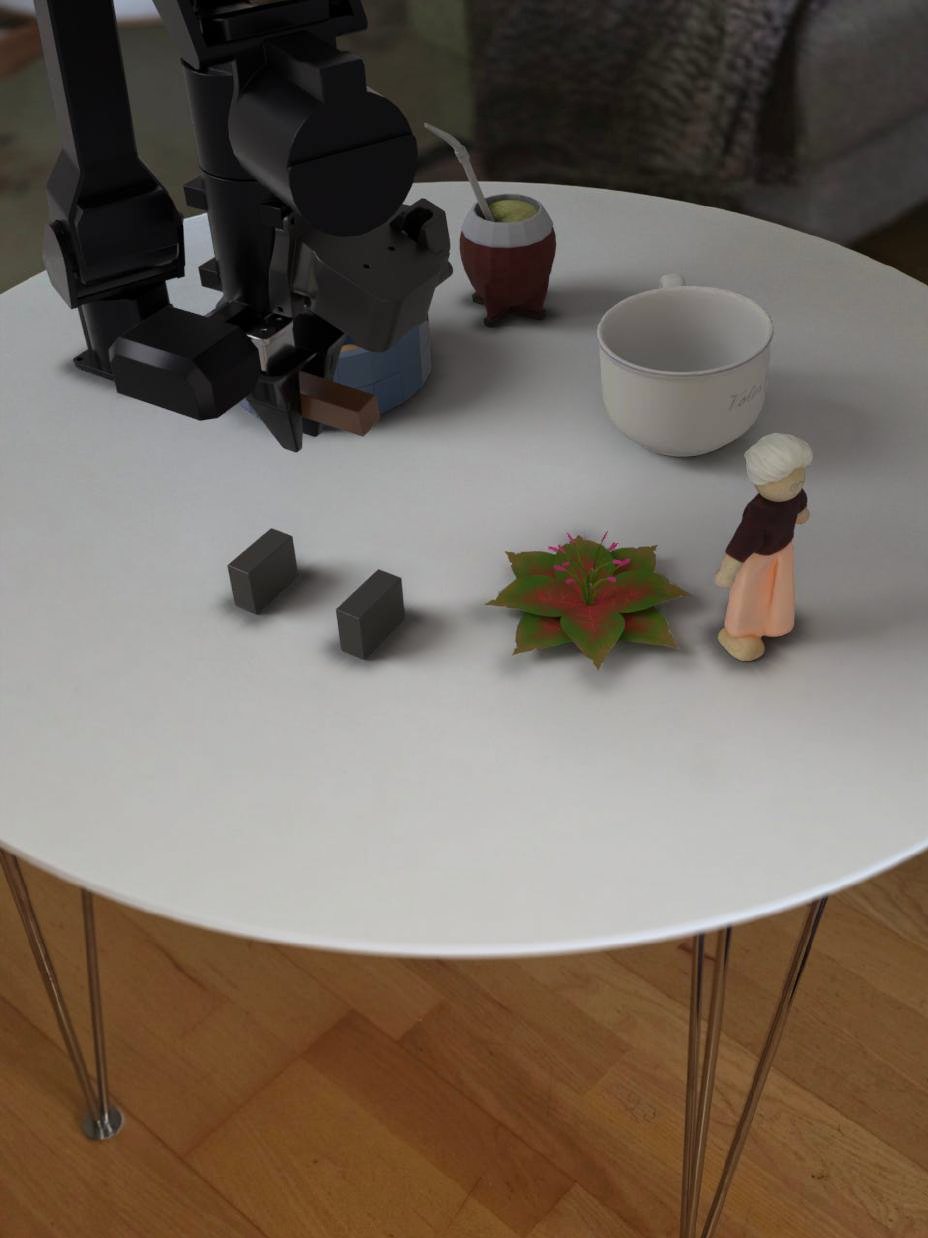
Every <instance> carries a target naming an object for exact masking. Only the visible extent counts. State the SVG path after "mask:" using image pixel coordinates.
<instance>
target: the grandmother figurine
mask: <svg viewBox="0 0 928 1238" xmlns="http://www.w3.org/2000/svg"><path fill="white" fill-rule="evenodd" d="M813 458H814V456H813V450H812V448H811V446H810V445H809V444H808V442H806V441H805V440H802V439H801V438H799V437H796V436H795V435H793V434H790V433H781V432H780V433H779V432H772V433H770V434H765V435H763V436H762V437H761V438H760V439H758V440H757V442H755V444H753V445H751V446H750V448H749V449H747V450H746V451H745V452H744V459H745V462H746V463H745V467H746V472H747V478H748V479H749V480H750V481H751V483H753V486H754V488H755V490H756V491H757V492H758V493H757V494H756V495H755V496H754V497H753V498H752V499H751V500H750V501H749V502H748V503H747V504H746V506H745V507H744V509H743V512H742V515H741V521H740V523H739V524H738V526H737V528H736V530H735V532H734V533H733V534H732V537H731V539H730V540H729V543H728V544H727V545H726V548H725V551H724V554H723V557H722V560H721V562H720V569H718V570H717V572H716V573H715V575H714V584H715V585H716V586H717V587H718V588H720V589H724V590H725V589H730V592H729V596H728V603H727V607H726V613H725V618H724V622H723V623H724V627H723V628H722V629H721V630H720V631H719V632H718V633H717V640H718V642H719V643H720V645H721V646H722V647H723V648H724V649H725V650H726V651H727V652H728V654H729V655H730V656H731V657H733V658H734V659H735V660H739V661H741V662H751V661H754V660H757V659H759V658H761V656H763V655H764V653H765V648H766V647H765V643H764V641H763V640H762V637H763V636H764V637H766V638H767V637H768V638H777V637H782V636H785V635H786V634H788V633H790V632H791V631H792V630H793V628H794V626H795V616H796V615H795V614H796V584H795V582H796V581H795V552H794V551H795V550H794V543H793V540H794V537H795V536H794V535H795V528H796V525H803V524H806V523H807V522H808V521H809V520H810V517H811V513H810V510H809V507H808V494H807V493H806V491H805V489H804V488H803V487H804V485H805V483H806V468H807V467H808V466H809V465H810V464H811V463H812V461H813Z"/></svg>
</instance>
